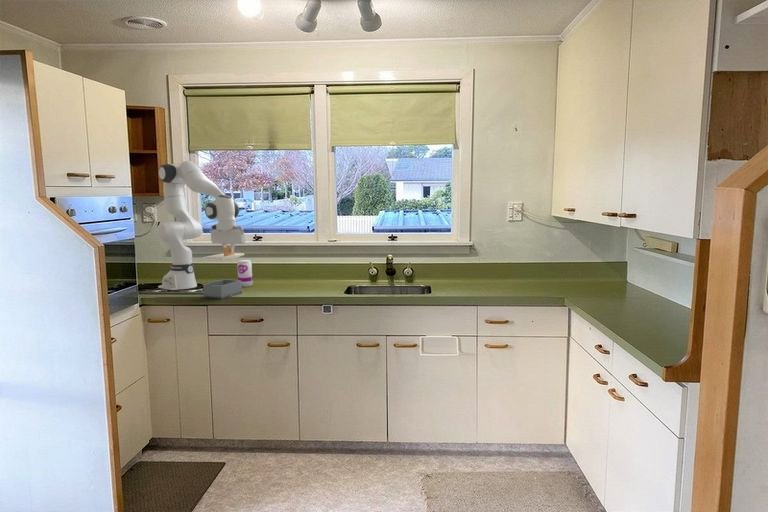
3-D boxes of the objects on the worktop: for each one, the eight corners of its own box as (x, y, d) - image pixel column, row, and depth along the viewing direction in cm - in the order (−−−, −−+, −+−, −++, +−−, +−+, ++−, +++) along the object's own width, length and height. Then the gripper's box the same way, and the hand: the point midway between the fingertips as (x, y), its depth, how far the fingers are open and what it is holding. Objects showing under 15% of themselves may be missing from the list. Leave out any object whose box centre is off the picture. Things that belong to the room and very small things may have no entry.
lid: (203, 260, 260) (202, 248, 259) (225, 256, 275) (224, 244, 275) (222, 261, 255) (221, 248, 254) (244, 256, 270) (243, 245, 269)
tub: (203, 297, 264) (203, 284, 263) (224, 291, 279) (224, 279, 278) (221, 299, 259) (220, 285, 258) (241, 293, 274) (241, 280, 273)
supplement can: (248, 287, 290) (247, 261, 288) (235, 286, 292) (234, 261, 290) (255, 284, 298) (253, 259, 296) (242, 284, 300) (241, 259, 298)
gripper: (247, 225, 260) (248, 251, 262) (216, 225, 268) (218, 251, 270) (239, 226, 254) (240, 253, 256) (208, 226, 263) (210, 252, 264)
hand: (229, 252), depth 263 cm, fingers closed on lid
